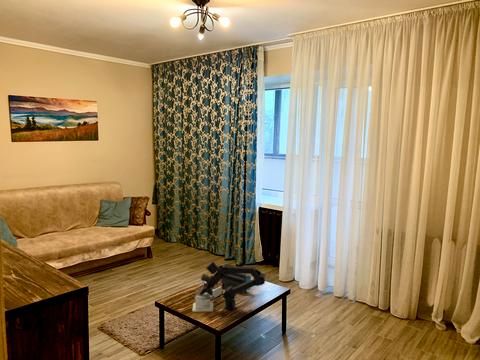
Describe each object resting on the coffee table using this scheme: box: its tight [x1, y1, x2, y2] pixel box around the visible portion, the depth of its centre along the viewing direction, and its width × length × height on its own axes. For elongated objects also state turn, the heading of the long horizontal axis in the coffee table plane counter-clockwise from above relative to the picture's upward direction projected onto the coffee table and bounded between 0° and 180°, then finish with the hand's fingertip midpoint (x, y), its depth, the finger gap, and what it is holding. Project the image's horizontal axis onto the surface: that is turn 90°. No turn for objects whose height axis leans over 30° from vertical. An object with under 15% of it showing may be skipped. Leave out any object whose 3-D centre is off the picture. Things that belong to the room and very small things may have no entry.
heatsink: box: [194, 294, 211, 309], centre depth 249 cm, size 11×8×7 cm
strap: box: [195, 292, 211, 299], centre depth 249 cm, size 10×3×1 cm, turn 95°
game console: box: [220, 273, 252, 296], centre depth 278 cm, size 28×6×15 cm, turn 57°
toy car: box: [197, 280, 224, 301], centre depth 271 cm, size 18×10×12 cm
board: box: [192, 302, 214, 313], centre depth 250 cm, size 14×11×1 cm
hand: (200, 293), depth 249 cm, fingers closed, pressing on strap
